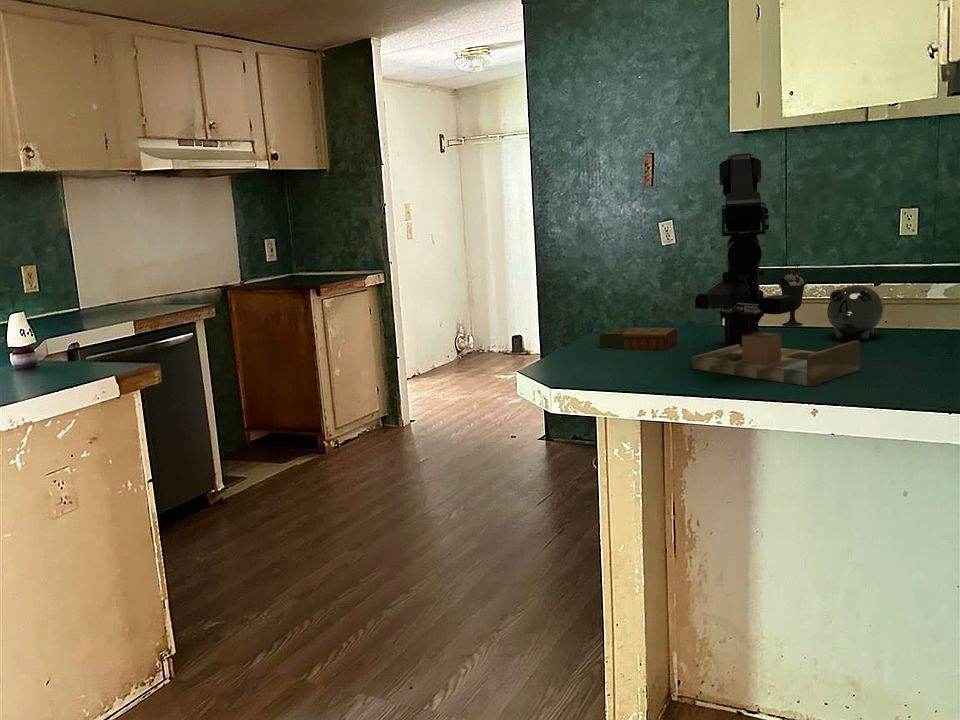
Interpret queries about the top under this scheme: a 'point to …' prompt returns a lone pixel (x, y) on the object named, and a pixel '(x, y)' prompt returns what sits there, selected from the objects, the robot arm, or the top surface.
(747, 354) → the block
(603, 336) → the carton
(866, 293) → the piggy bank
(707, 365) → the brown wooden compartment tray
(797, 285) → the sundae
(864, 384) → the top surface
